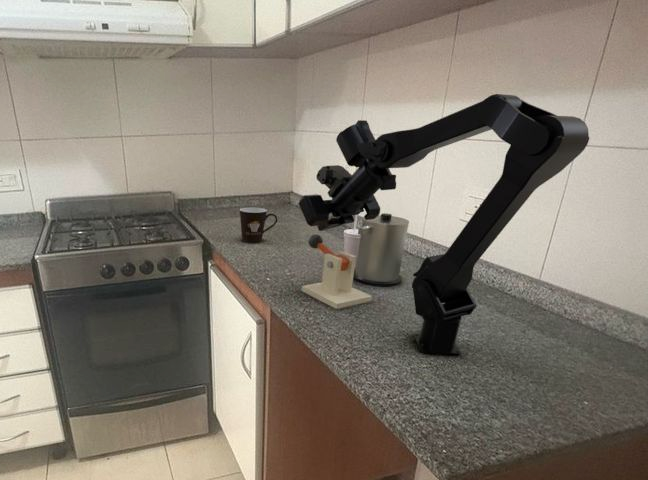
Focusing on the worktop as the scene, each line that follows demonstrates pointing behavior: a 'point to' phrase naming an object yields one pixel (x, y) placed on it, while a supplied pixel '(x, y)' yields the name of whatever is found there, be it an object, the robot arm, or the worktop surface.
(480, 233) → the robot arm
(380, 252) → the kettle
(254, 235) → the coffee mug
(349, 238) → the smoothie
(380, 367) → the worktop surface
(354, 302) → the knobbed lever stand
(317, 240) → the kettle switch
